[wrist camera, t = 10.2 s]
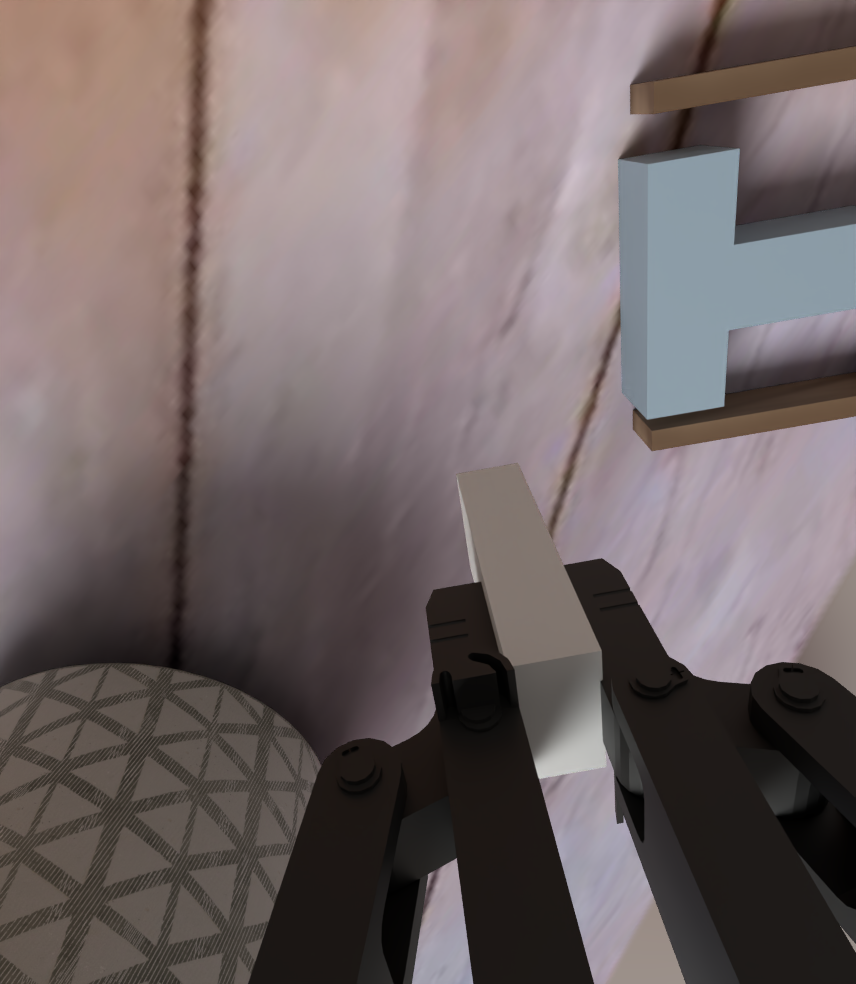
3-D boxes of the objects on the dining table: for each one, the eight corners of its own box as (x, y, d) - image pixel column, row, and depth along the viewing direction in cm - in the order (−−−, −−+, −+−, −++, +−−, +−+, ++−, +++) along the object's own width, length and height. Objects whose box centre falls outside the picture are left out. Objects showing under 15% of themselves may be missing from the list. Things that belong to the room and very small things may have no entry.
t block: (618, 159, 33) (647, 164, 30) (865, 116, 33) (924, 116, 30) (621, 392, 39) (647, 419, 35) (832, 356, 39) (878, 380, 35)
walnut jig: (630, 85, 32) (654, 81, 29) (936, 31, 32) (988, 24, 29) (633, 429, 40) (651, 451, 37) (875, 387, 40) (911, 406, 37)
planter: (396, 706, 49) (422, 1145, 28) (236, 897, 58) (165, 1338, 37) (39, 557, 41) (-297, 1019, 20) (-83, 806, 50) (-404, 1306, 29)
